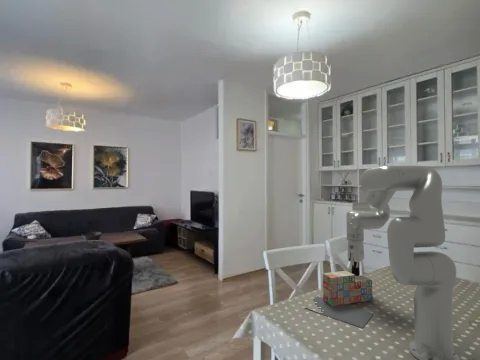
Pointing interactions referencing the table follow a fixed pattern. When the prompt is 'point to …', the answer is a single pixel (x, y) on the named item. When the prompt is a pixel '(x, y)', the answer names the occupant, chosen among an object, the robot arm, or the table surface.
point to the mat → (344, 313)
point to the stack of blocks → (346, 288)
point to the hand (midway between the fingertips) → (355, 275)
